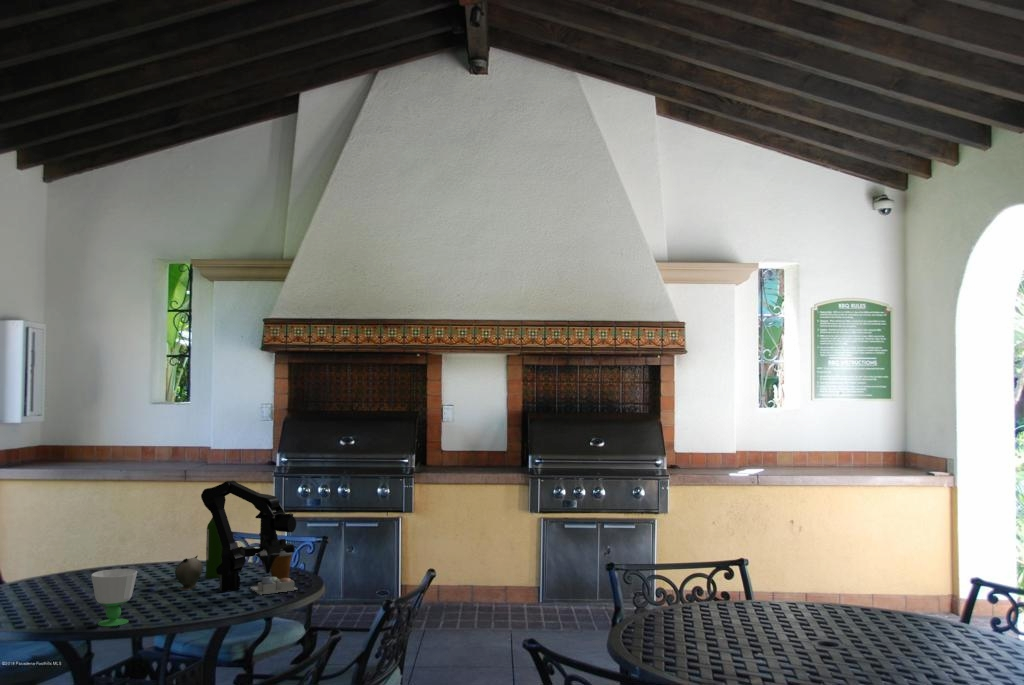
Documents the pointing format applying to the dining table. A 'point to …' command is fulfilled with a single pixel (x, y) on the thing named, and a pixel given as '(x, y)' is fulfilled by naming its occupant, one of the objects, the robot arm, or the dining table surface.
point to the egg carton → (274, 587)
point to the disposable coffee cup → (281, 565)
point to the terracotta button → (285, 580)
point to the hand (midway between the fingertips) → (267, 573)
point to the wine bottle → (212, 551)
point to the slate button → (266, 580)
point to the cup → (113, 592)
